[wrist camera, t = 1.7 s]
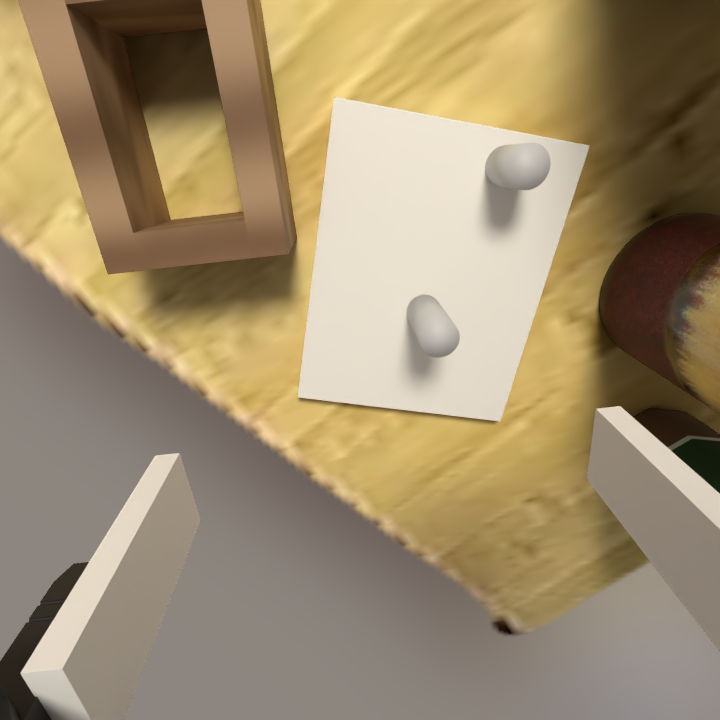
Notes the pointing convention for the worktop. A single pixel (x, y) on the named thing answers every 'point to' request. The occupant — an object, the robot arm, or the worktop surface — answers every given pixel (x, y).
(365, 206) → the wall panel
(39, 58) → the frame
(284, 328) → the worktop surface
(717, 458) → the beer bottle
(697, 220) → the vase
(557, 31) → the worktop surface
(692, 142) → the worktop surface
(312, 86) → the worktop surface
